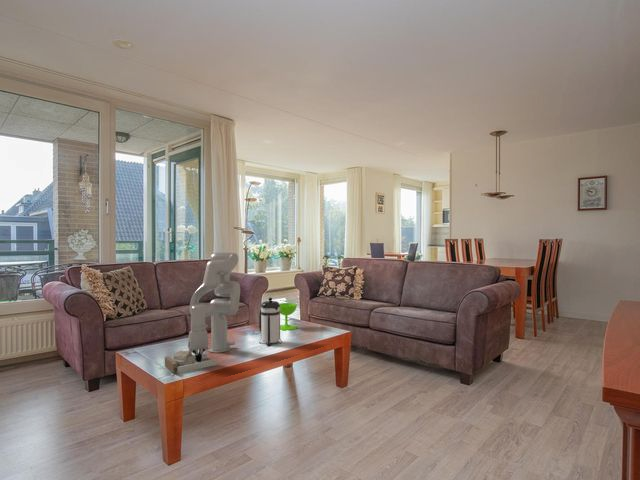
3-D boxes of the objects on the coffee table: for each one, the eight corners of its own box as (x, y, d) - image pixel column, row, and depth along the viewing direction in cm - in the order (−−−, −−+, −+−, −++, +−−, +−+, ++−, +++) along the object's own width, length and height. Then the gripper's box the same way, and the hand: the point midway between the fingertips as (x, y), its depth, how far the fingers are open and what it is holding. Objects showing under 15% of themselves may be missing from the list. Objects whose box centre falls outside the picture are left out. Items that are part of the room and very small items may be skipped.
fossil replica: (194, 369, 199) (196, 365, 208) (195, 353, 199) (197, 349, 209) (170, 369, 196) (173, 365, 206) (171, 353, 197) (174, 349, 206)
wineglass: (280, 331, 279) (280, 307, 279) (272, 327, 293) (272, 304, 293) (300, 329, 286) (300, 305, 286) (291, 325, 301) (291, 302, 300)
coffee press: (284, 340, 255) (284, 295, 255) (279, 346, 240) (278, 299, 240) (259, 339, 258) (259, 295, 258) (252, 345, 242) (252, 299, 242)
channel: (206, 357, 218) (206, 349, 218) (217, 364, 205) (216, 355, 205) (164, 366, 204) (164, 356, 204) (173, 374, 192) (173, 364, 192)
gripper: (209, 325, 215) (209, 357, 215) (182, 328, 206) (182, 362, 206) (214, 327, 209) (214, 360, 209) (186, 331, 200) (186, 366, 200)
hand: (198, 361), depth 207 cm, fingers closed
